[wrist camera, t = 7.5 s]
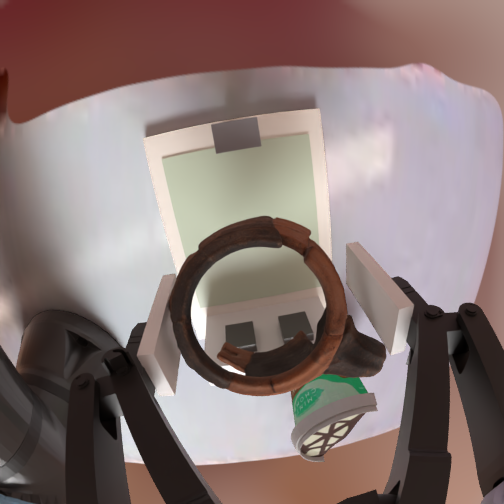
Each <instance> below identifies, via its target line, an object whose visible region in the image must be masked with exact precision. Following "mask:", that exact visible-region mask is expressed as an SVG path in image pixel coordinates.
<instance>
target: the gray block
mask: <svg viewBox="0 0 504 504" xmlns="http://www.w3.org/2000/svg"><path fill="white" fill-rule="evenodd" d="M211 128H212V134H213V139H214V145H215V150H216V154H218V153H224V152H229V151H235V150H241V149H247V148H253V147H260V146H261V139H260V133H259V127H258V120H257V117H252V118H245V119H239V120H231V121H227V122H221V123H216V124H211Z"/></svg>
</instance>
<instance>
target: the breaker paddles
mask: <svg viewBox="0 0 504 504" xmlns="http://www.w3.org/2000/svg"><path fill="white" fill-rule="evenodd" d="M278 321H279V326H280V330H281V334H282V338H283V342H284V344H286V343H287V342H289V341H290V340H291V339H293V337H294V336H295V335H296V334H297V333H298V332H299V331H303V332H304V333H305V334H306V336H307V338H308V339H310V340H311V341H312V340H314V333H313V330H312V328H311V325H310V323H309V320H308V317H307V315H306V312H305V311H303V312H298V313H293V314H288V315H282V316H278ZM225 335H226V342H228V343H230V344H231V345H233V346H235V347H237V348H240V349H243V350H247V351H251V352H256V351H257V344H256V338H255V331H254V325H253V321H249V322H243V323H237V324H231V325H225Z"/></svg>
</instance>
